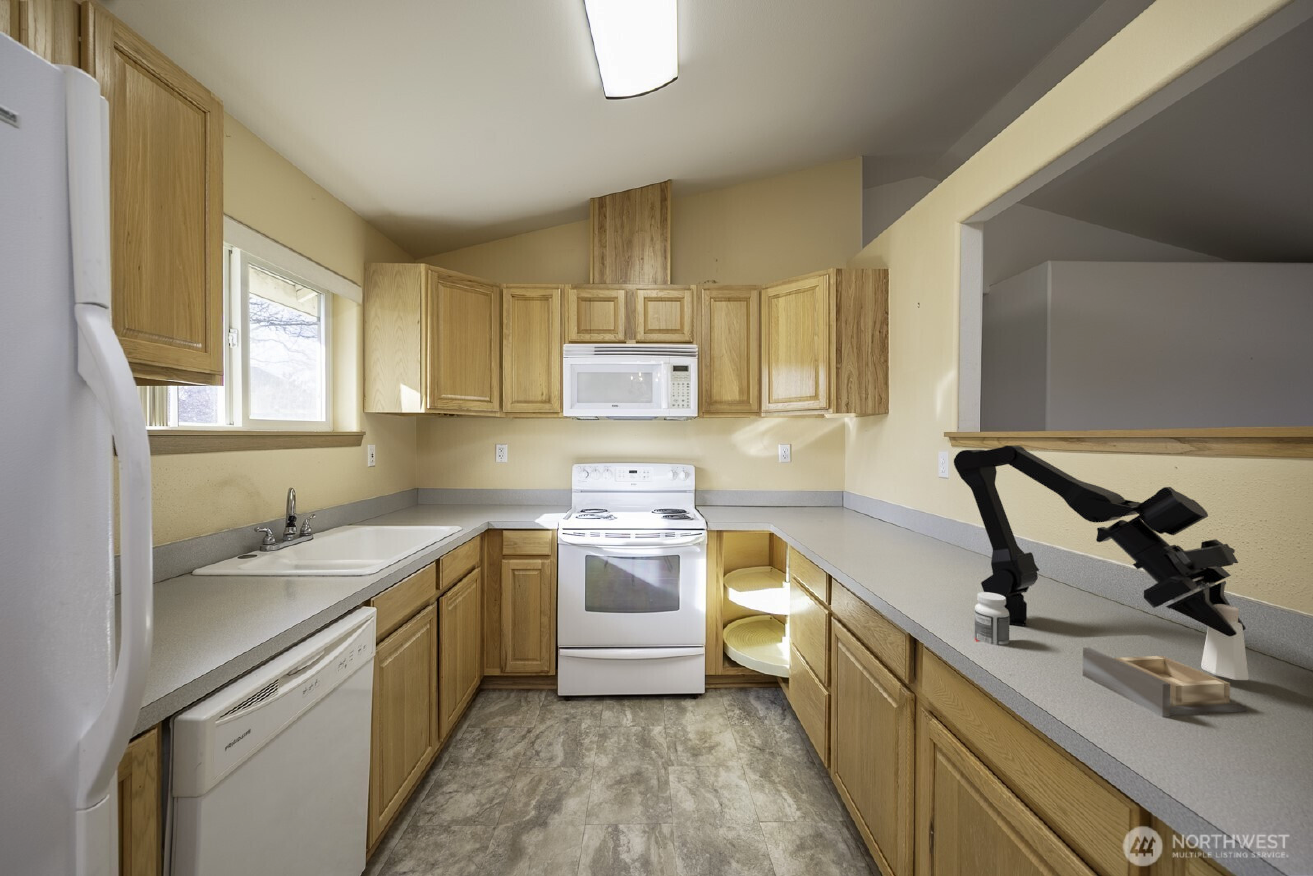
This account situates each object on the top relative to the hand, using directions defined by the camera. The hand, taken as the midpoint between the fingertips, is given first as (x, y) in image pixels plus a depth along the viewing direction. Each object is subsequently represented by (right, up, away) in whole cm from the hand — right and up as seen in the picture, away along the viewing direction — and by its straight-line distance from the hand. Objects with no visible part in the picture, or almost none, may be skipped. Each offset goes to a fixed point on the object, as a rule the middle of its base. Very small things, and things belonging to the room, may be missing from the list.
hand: (1238, 632), depth 79 cm
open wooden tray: (-16, -10, 0) cm, 18 cm away
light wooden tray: (-13, -9, -2) cm, 16 cm away
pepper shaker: (-1, -7, +1) cm, 7 cm away
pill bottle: (-28, -10, +18) cm, 34 cm away
